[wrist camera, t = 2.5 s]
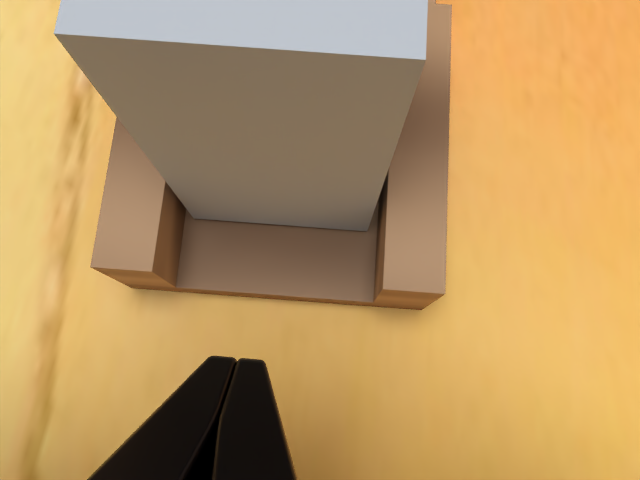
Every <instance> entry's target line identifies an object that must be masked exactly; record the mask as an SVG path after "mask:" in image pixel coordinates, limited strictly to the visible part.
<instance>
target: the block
mask: <svg viewBox="0 0 640 480" xmlns="http://www.w3.org/2000/svg"><path fill="white" fill-rule="evenodd" d="M427 12H428V0H61V3H60V7H59V12H58V17H57V21H56V26H55V31H54V34H55V36H56V37H57V38H58V40H59V41H60V42H61V44H62V45H63V46H64V48H65V49H66V50H67V51H68V53H69V54H70V55H71V57H72V58H73V59H74V61H75V62H76V63H77V65H78V66H79V67H80V69H81V70H82V71H83V73H84V74H85V75H86V77H87V78H88V79H89V81H90V82H91V83H92V85H93V86H94V87H95V88H96V90H97V91H98V92H99V94H100V95H101V96H102V98H103V99H104V100H105V102H106V103H107V104H108V106H109V107H110V108H111V110H112V111H113V112H114V114H115V115H116V116H117V118H118V119H119V120H120V122H121V123H122V124H123V126H124V127H125V128H126V129H127V131H128V132H129V133H130V135H131V136H132V137H133V139H134V140H135V141H136V143H137V144H138V145H139V147H140V148H141V149H142V151H143V152H144V153H145V155H146V156H147V157H148V159H149V160H150V161H151V163H152V164H153V165H154V167H155V168H156V169H157V170H158V172H159V173H160V174H161V176H162V177H163V178H164V180H165V181H166V182H167V184H168V185H169V186H170V188H171V189H172V190H173V192H174V193H175V194H176V196H177V197H178V198H179V200H180V201H181V202H182V204H183V205H184V206H185V208H186V209H187V210H188V211H189V213H190V214H191V215H192V217H193V218H194V219H207V220H221V221H234V222H248V223H261V224H275V225H288V226H302V227H315V228H328V229H342V230H355V231H367V230H368V227H369V224H370V222H371V219H372V216H373V213H374V210H375V207H376V204H377V201H378V198H379V195H380V192H381V189H382V187H383V184H384V181H385V178H386V175H387V172H388V169H389V166H390V163H391V160H392V157H393V154H394V151H395V149H396V146H397V143H398V140H399V137H400V134H401V131H402V128H403V125H404V122H405V119H406V116H407V113H408V111H409V108H410V105H411V102H412V99H413V96H414V93H415V90H416V87H417V84H418V81H419V78H420V76H421V73H422V70H423V67H424V64H425V61H426V41H427Z"/></svg>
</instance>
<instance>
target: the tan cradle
mask: <svg viewBox="0 0 640 480" xmlns="http://www.w3.org/2000/svg"><path fill="white" fill-rule="evenodd" d="M451 15H452V5H447V4H436V0H428V12H427V41H426V61H425V64H424V67H423V70H422V73H421V76H420V78H419V81H418V84H417V87H416V90H415V93H414V96H413V99H412V102H411V105H410V108H409V111H408V113H407V116H406V119H405V122H404V125H403V128H402V131H401V134H400V137H399V140H398V143H397V146H396V149H395V151H394V154H393V157H392V160H391V163H390V166H389V169H388V172H387V175H386V178H385V181H384V184H383V187H382V189H381V192H380V195H379V198H378V201H377V204H376V207H375V210H374V213H373V216H372V219H371V222H370V224H369V227H368V230H367V231H355V230H342V229H328V228H315V227H302V226H288V225H275V224H261V223H248V222H234V221H221V220H207V219H194V218H193V217H192V215H191V214H190V213H189V211H188V210H187V209H186V208H185V206H184V205H183V204H182V202H181V201H180V200H179V198H178V197H177V196H176V194H175V193H174V192H173V190H172V189H171V188H170V186H169V185H168V184H167V182H166V181H165V180H164V178H163V177H162V176H161V174H160V173H159V172H158V170H157V169H156V168H155V167H154V165H153V164H152V163H151V161H150V160H149V159H148V157H147V156H146V155H145V153H144V152H143V151H142V149H141V148H140V147H139V145H138V144H137V143H136V141H135V140H134V139H133V137H132V136H131V135H130V133H129V132H128V131H127V129H126V128H125V127H124V126H123V124H122V123H121V122H120V120H119V119H118V118H116V124H115V129H114V135H113V141H112V146H111V152H110V158H109V164H108V169H107V175H106V181H105V186H104V192H103V198H102V204H101V209H100V215H99V221H98V226H97V232H96V238H95V244H94V249H93V255H92V261H91V266H90V267H91V268H93V269H95V270H97V271H99V272H101V273H103V274H105V275H107V276H109V277H111V278H113V279H115V280H117V281H119V282H121V283H123V284H125V285H127V286H129V287H131V288H140V289H153V290H166V291H179V292H193V293H206V294H219V295H232V296H245V297H258V298H272V299H285V300H298V301H311V302H324V303H337V304H351V305H364V306H377V307H390V308H403V309H416V310H422V309H423V308H425V307H426V306H428V305H429V304H431V303H432V302H434V301H435V300H437V299H438V298H440V297H441V296H443V295H444V294H445V280H446V236H447V191H448V147H449V103H450V59H451Z"/></svg>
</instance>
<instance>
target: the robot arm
mask: <svg viewBox="0 0 640 480" xmlns="http://www.w3.org/2000/svg"><path fill="white" fill-rule="evenodd" d="M87 480H297V477H296V473H295V469H294V466H293V462H292V458H291V455H290V451H289V447H288V444H287V440H286V436H285V433H284V429H283V425H282V422H281V418H280V414H279V411H278V407H277V403H276V400H275V396H274V392H273V389H272V385H271V381H270V378H269V374H268V370H267V367H266V364H265V362H264V361H263V360H257V359H245V358H241V359H239V360H238V361H237V360H236V359H235V358H233V357H222V356H211V357H209V358H207V359H206V360H205V361H204V362H203V363H202V364H201V365H200V366H199V367H198V368H197V369H196V370H195V371H194V372H193V373H192V374H191V375H190V376H189V377H188V378H187V379H186V381H185V382H184V383H183V384H182V385H181V386H180V387H179V388H178V389H177V390H176V391H175V392H174V393H173V394H172V395H171V396H170V397H169V398H168V399H167V400H166V401H165V402H164V403H163V404H162V405H161V406H160V407H159V408H158V409H157V410H156V411H155V412H154V413H153V414H152V415H151V416H150V417H149V418H148V419H147V420H146V421H145V422H144V423H143V424H142V425H141V426H140V427H139V428H138V429H137V430H136V431H135V432H134V433H133V434H132V435H131V436H130V437H129V438H128V439H127V440H126V441H125V442H124V443H123V444H122V445H121V446H120V447H119V448H118V449H117V450H116V451H115V452H114V453H113V454H112V455H111V456H110V457H109V458H108V459H107V460H106V461H105V462H104V463H103V464H102V465H101V466H100V467H99V468H98V469H97V470H96V471H95V472H94V473H93V474H92V475H91V476H90V477H89V478H88V479H87Z"/></svg>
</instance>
